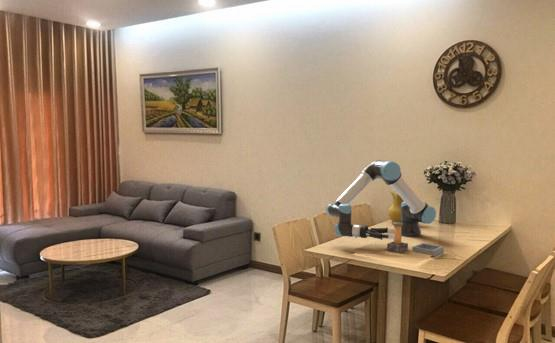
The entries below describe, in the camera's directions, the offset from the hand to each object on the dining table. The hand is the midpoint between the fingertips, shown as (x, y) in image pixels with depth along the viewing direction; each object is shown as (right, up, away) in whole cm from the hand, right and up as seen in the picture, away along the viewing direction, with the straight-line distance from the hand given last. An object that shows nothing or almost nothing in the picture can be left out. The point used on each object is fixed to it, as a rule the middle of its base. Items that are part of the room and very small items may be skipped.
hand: (396, 234), depth 265 cm
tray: (+18, -11, -1) cm, 21 cm away
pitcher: (+25, -4, +86) cm, 90 cm away
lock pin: (+1, -9, +1) cm, 9 cm away
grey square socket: (+1, -11, +1) cm, 11 cm away
